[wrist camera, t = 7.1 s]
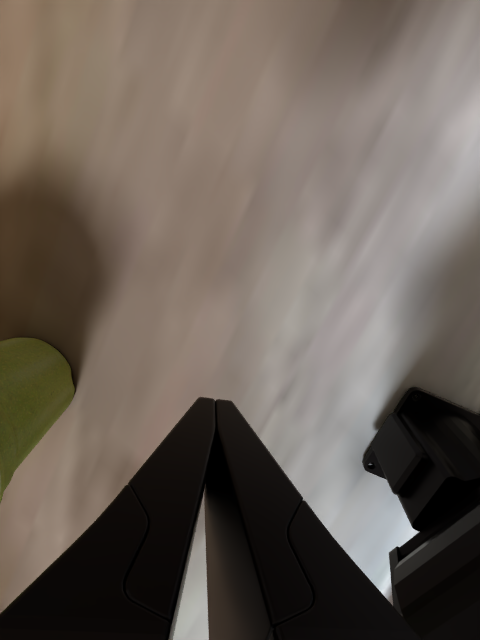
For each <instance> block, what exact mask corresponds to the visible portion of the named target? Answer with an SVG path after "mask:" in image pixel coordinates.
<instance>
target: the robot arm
mask: <svg viewBox="0 0 480 640" xmlns="http://www.w3.org/2000/svg"><path fill="white" fill-rule="evenodd" d="M414 394H418V396H417V397H416V398H412V397H413V395H414ZM371 445H372V446H371V448H370V449H369V451H368V452H367V454H366V455H365V457H364V459H363V461H362V463H363V466H364V468H365V470H366V471H368V472H370V473H372V474H374V475H377V476H379V477H382V478H384V479H386V480H387V481H388V483H389V486H390V488H391V490H392V492H393V493H394V494H395V495H397V496H398V498H399V500H400V502H401V504H402V506H403V509H404V511H405V513H406V515H407V517H408V519H409V521H410V523H411V526H412V528H413V529H415V530H417V531H420V532H419V533H418V534H416V535H415V536H414V537H413V538H411V539H410V540H409V541H407V542H406V543H405V544H404V545H402V546H401V547H400V548H399V547H396V548H394V549H393V550H392V551H391V552H389V559H390V571H391V584H392V596H393V606H392V604H391V603H390V602H389V601H388V600H387V599H386V598H385V597H384V595H383V594H382V593H381V592H380V591H379V590H378V589H377V588H376V586H375V585H374V584H373V583H372V582H371V581H370V580H369V578H368V577H367V576H366V575H365V574H364V573H363V572H362V571H361V569H360V568H359V567H358V566H357V565H356V564H355V563H354V561H353V560H352V559H351V558H350V557H349V556H348V554H347V553H346V552H345V551H344V550H343V548H342V547H341V546H340V545H339V544H338V543H337V541H336V540H335V539H334V538H333V537H332V535H331V534H330V533H329V531H328V530H327V529H326V528H325V526H324V525H323V524H322V522H321V521H320V520H319V519H318V517H317V516H316V515H315V513H314V512H313V511H312V509H311V508H310V506H309V505H308V504H307V502H306V501H304V500H303V497H302V496H301V494H300V493H299V492H298V490H297V489H296V488H295V486H294V485H293V484H292V482H291V481H290V479H289V478H288V477H287V475H286V474H285V473H284V471H283V470H282V469H281V467H280V466H279V464H278V463H277V462H276V460H275V459H274V458H273V456H272V455H271V454H270V452H269V451H268V450H267V448H266V447H265V445H264V444H263V443H262V441H261V440H260V439H259V437H258V436H257V435H256V433H255V432H254V430H253V429H252V428H251V426H250V425H249V424H248V422H247V421H246V420H245V418H244V417H243V415H242V414H241V413H240V411H239V410H238V409H237V407H236V406H235V405H234V403H233V402H232V401H229V400H220V399H217V400H216V401H215V400H214V399H212V398H204V397H199V398H198V399H197V400H196V401H195V402H194V404H193V405H192V406H191V407H190V409H189V410H188V411H187V412H186V413H185V415H184V416H183V417H182V418H181V419H180V421H179V422H178V423H177V424H176V425H175V427H174V428H173V429H172V430H171V432H170V433H169V434H168V435H167V436H166V438H165V439H164V440H163V441H162V442H161V444H160V445H159V446H158V447H157V449H156V450H155V451H154V452H153V453H152V455H151V456H150V457H149V458H148V459H147V461H146V462H145V463H144V464H143V466H142V467H141V468H140V469H139V470H138V472H137V473H136V474H135V475H134V476H133V478H132V479H131V480H130V481H129V483H128V485H126V486H125V487H124V488H123V489H122V491H121V492H120V493H119V494H118V496H117V497H116V498H115V499H114V500H113V501H112V503H111V504H110V505H109V506H108V507H107V508H106V509H105V511H104V512H103V513H102V514H101V515H100V516H99V517H98V518H97V520H96V521H95V522H94V523H93V524H92V525H91V526H90V527H89V528H88V529H87V530H86V531H85V532H84V533H83V534H82V535H81V536H80V537H79V538H78V539H77V540H76V541H75V542H74V543H73V544H72V545H71V546H70V547H69V548H68V549H67V550H66V551H65V552H64V553H63V554H62V555H61V556H60V557H59V558H57V559H56V560H55V561H54V562H53V563H52V564H51V565H50V566H49V567H48V568H47V569H46V570H45V571H44V572H43V573H42V574H41V575H40V576H39V577H38V578H37V579H36V580H35V581H34V582H33V583H32V584H30V585H29V586H28V587H27V588H26V589H25V590H24V591H23V592H22V593H21V594H20V595H19V596H18V597H17V598H16V599H15V600H14V601H13V602H12V603H11V604H10V605H9V606H8V607H7V608H6V609H5V610H4V611H2V612H1V613H0V640H173V635H174V631H175V626H176V621H177V616H178V612H179V607H180V602H181V598H182V593H183V588H184V584H185V579H186V574H187V569H188V565H189V560H190V555H191V551H192V546H193V541H194V536H195V532H196V527H197V522H198V518H199V513H200V508H201V503H202V498H203V493H204V502H205V533H206V563H207V593H208V623H209V640H480V414H478V413H476V412H473V411H471V410H469V409H466V408H464V407H462V406H459V405H457V404H455V403H452V402H450V401H448V400H445V399H443V398H441V397H439V396H436V395H434V394H432V393H429V392H427V391H425V390H422V389H420V388H417V387H412V388H410V389H408V390H407V392H406V393H405V395H404V396H403V398H402V399H401V401H400V403H399V404H398V406H397V407H396V409H395V410H394V412H393V413H392V414H390V415H389V416H388V418H387V419H386V421H385V423H384V424H383V426H382V427H381V429H380V430H379V432H378V434H377V435H376V437H375V438H374V440H373V441H372V443H371ZM369 463H374V464H372V465H368V464H369ZM204 488H205V491H204Z"/></svg>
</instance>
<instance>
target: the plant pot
mask: <svg viewBox="0 0 480 640" xmlns="http://www.w3.org/2000/svg"><path fill="white" fill-rule="evenodd" d="M74 391H75V388H74V385H73V382H72V377H71V368H70V366H69V364H68V362H67V361H66V359H65V358H64V357H63V356H62V354H61V353H60V352H59V351H58V350H56V349H55V348H54V347H52V346H51V345H49V344H47V343H46V342H44V341H41V340H39V339H35V338H11V339H7V340H3V341H0V503H1V500H2V496H3V492H4V490H5V489H6V487H7V486H8V484H9V483H10V481H11V478H12V476H13V473H14V471H15V470H16V469H17V468H18V466H19V465H20V464H21V463H22V462H23V460H24V459H25V458H26V457H27V455H28V454H29V453H30V452H31V451H32V450H33V448H34V447H35V446H36V445H37V443H38V442H39V441H40V440H41V439H42V437H43V436H44V435H45V434H46V432H47V431H48V430H49V429H50V428H51V426H52V425H53V424H54V423H55V422H56V421H57V419H58V418H59V417H60V416H61V415H62V413H63V412H64V411H65V410H66V409H67V407H68V406H69V405H70V403H71V401H72V399H73V396H74Z"/></svg>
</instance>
